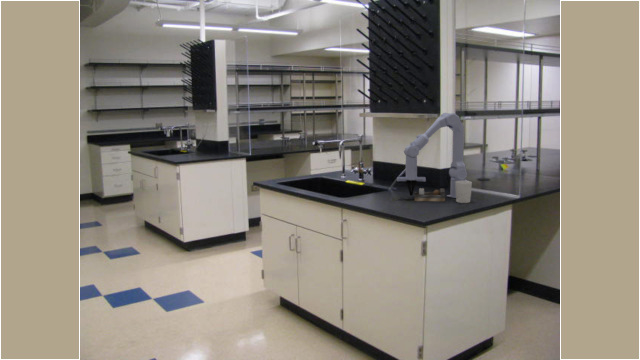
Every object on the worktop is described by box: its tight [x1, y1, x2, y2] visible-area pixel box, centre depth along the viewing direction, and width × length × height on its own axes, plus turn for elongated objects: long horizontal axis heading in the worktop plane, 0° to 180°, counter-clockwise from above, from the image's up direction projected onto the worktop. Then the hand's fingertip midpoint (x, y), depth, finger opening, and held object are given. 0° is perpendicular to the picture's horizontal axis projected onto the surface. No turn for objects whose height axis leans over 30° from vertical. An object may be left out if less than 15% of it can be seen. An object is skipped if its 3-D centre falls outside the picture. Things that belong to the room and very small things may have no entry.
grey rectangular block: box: [418, 187, 425, 195], centre depth 261 cm, size 2×6×3 cm, turn 169°
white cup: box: [455, 180, 473, 204], centre depth 253 cm, size 8×8×10 cm
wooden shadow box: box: [414, 187, 446, 202], centre depth 261 cm, size 15×9×5 cm, turn 80°
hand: (411, 195), depth 263 cm, fingers closed
